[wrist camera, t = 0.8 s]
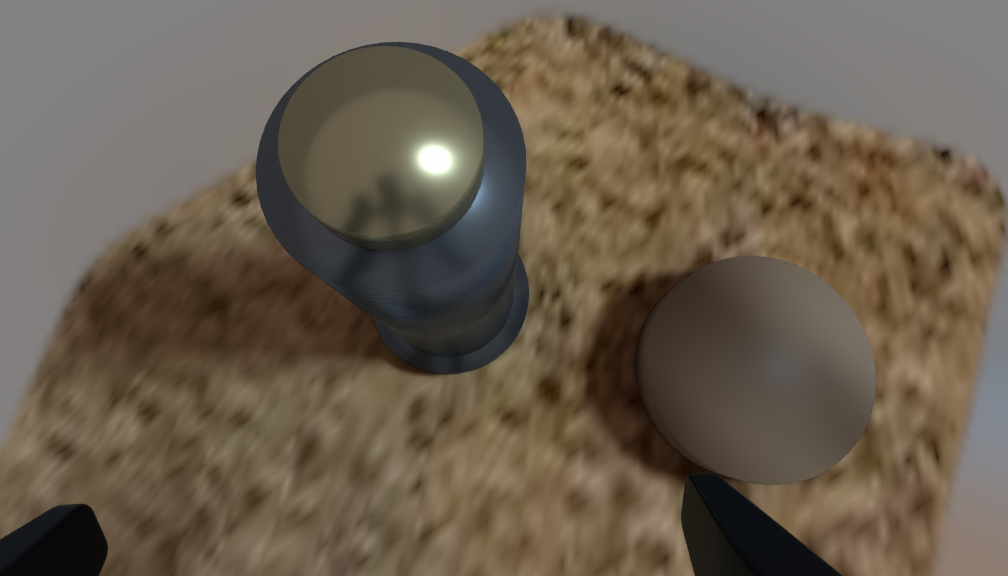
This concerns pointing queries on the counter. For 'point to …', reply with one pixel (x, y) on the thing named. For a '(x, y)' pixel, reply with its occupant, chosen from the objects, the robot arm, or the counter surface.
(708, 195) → the counter surface
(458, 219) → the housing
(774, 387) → the stand
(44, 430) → the counter surface
